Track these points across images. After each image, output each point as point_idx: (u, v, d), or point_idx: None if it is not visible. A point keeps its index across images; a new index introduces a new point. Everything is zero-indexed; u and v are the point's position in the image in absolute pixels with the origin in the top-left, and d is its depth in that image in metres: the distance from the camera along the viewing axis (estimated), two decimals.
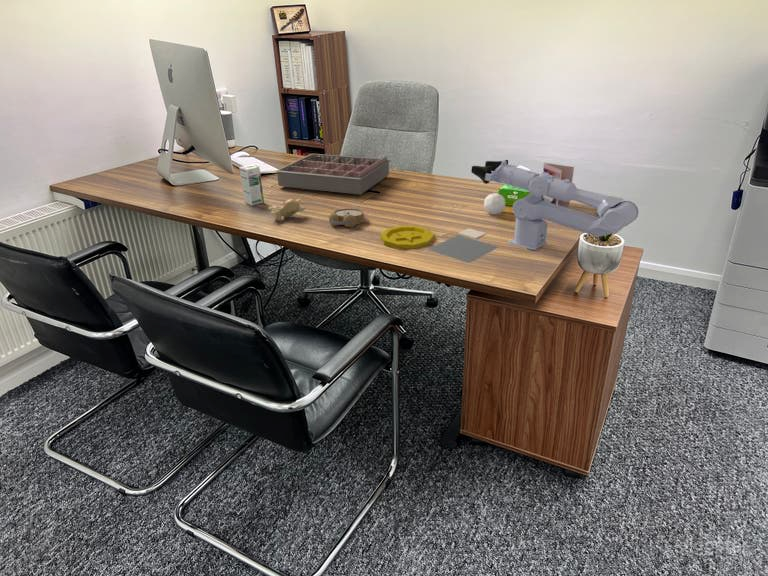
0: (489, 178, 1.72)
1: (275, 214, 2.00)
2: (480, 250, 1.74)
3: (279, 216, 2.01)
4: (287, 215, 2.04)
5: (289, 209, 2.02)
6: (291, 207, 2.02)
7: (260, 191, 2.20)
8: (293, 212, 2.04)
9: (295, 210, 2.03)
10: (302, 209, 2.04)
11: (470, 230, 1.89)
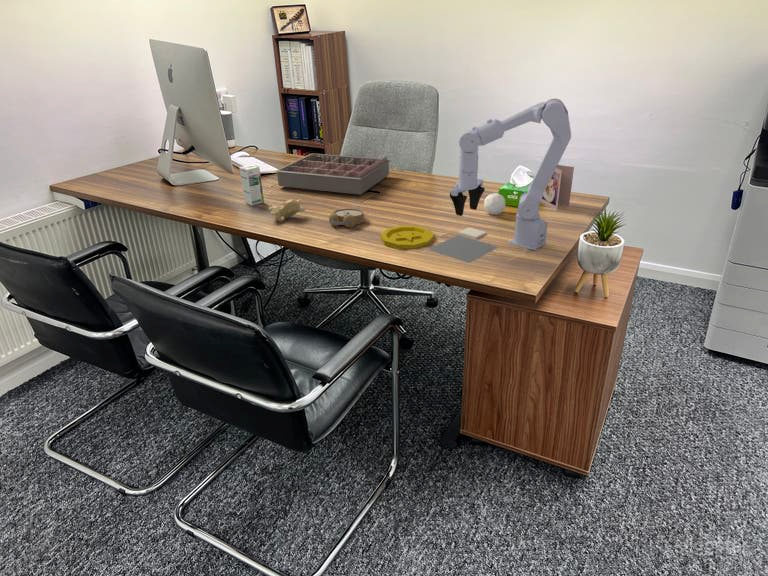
0: (454, 190, 1.72)
1: (275, 214, 2.00)
2: (480, 250, 1.74)
3: (279, 216, 2.01)
4: (287, 215, 2.04)
5: (289, 209, 2.01)
6: (291, 208, 2.01)
7: (260, 191, 2.20)
8: (293, 212, 2.03)
9: (295, 211, 2.03)
10: (302, 210, 2.04)
11: (470, 229, 1.89)
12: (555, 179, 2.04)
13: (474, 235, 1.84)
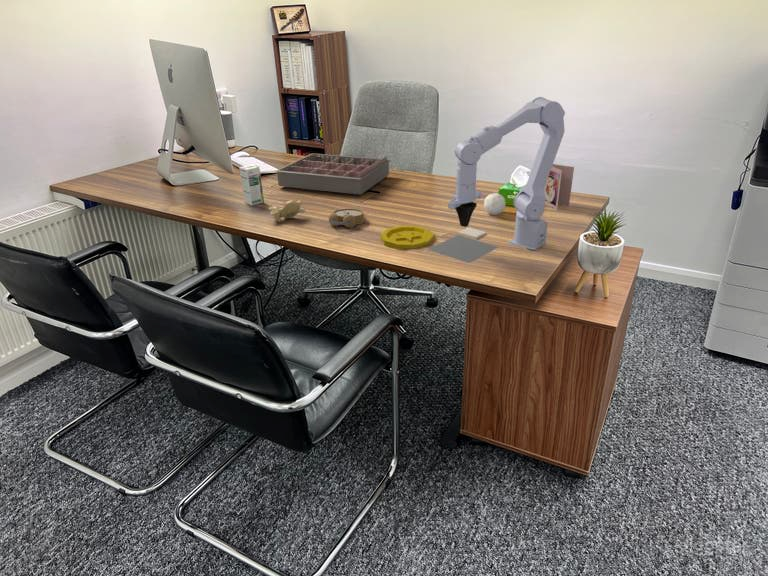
0: (451, 204, 1.64)
1: (274, 215, 2.00)
2: (480, 250, 1.74)
3: (278, 217, 2.00)
4: (287, 216, 2.03)
5: (288, 210, 2.01)
6: (291, 209, 2.00)
7: (260, 191, 2.20)
8: (293, 213, 2.03)
9: (295, 211, 2.02)
10: (302, 211, 2.02)
11: (470, 229, 1.88)
12: (555, 179, 2.04)
13: (474, 235, 1.83)
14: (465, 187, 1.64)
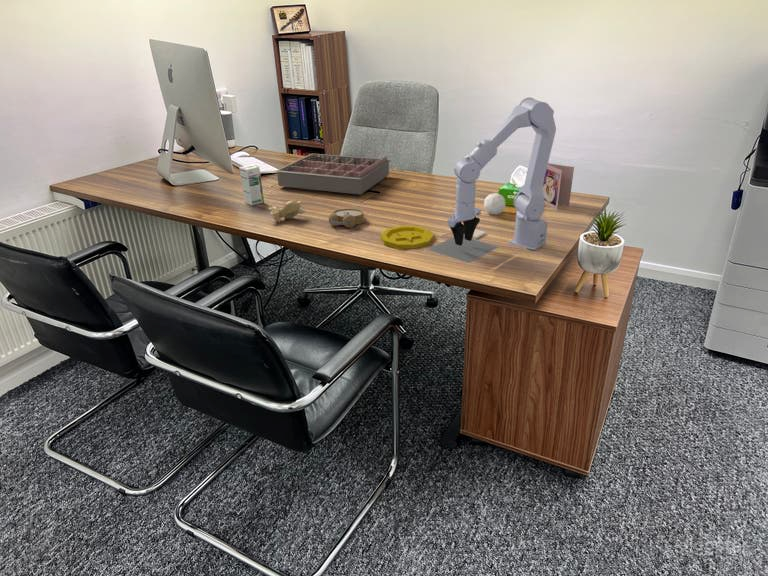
0: (450, 221, 1.66)
1: (274, 215, 1.99)
2: (480, 250, 1.74)
3: (278, 217, 2.00)
4: (287, 216, 2.03)
5: (288, 211, 2.00)
6: (291, 209, 2.00)
7: (260, 191, 2.20)
8: (293, 214, 2.02)
9: (294, 212, 2.01)
10: (302, 211, 2.02)
11: None
12: (555, 179, 2.04)
13: (474, 235, 1.83)
14: (464, 205, 1.67)
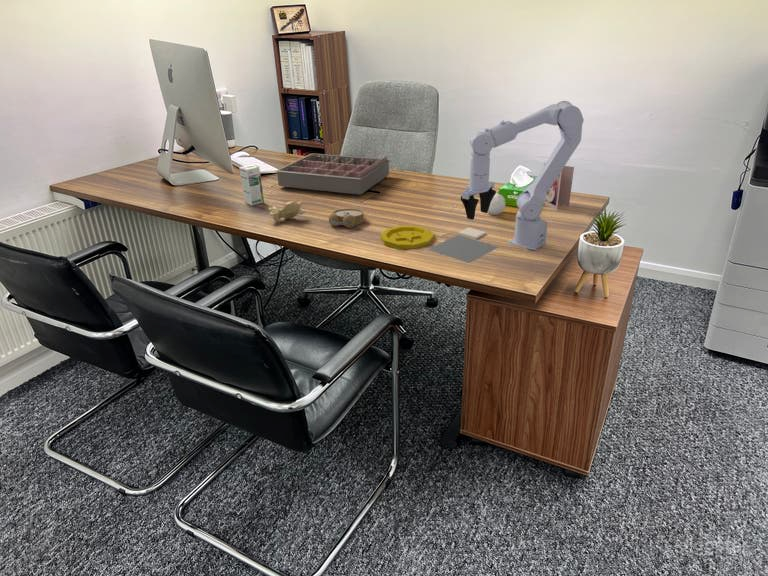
0: (465, 193, 1.68)
1: (273, 215, 1.99)
2: (480, 250, 1.74)
3: (277, 217, 1.99)
4: (287, 217, 2.02)
5: (288, 211, 2.00)
6: (290, 210, 2.00)
7: (260, 191, 2.20)
8: (292, 214, 2.02)
9: (294, 212, 2.01)
10: (302, 212, 2.01)
11: (470, 229, 1.88)
12: None
13: (474, 235, 1.83)
14: (479, 177, 1.68)
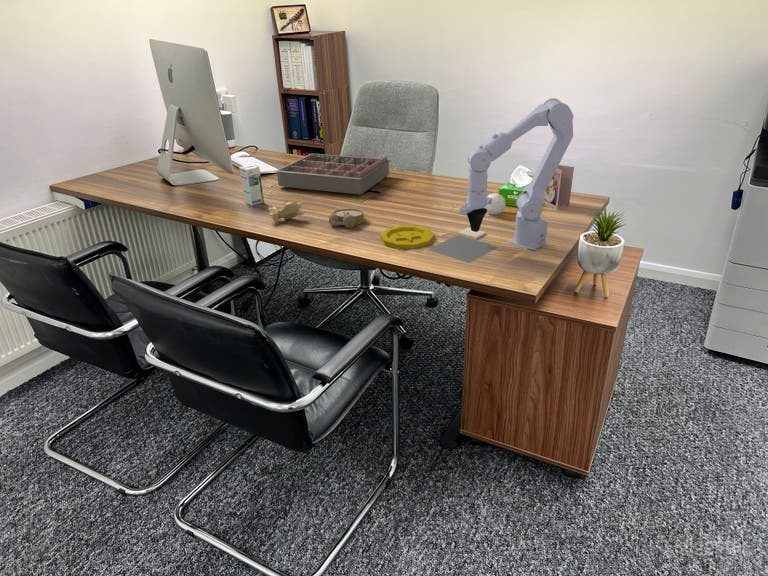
0: (462, 210, 1.69)
1: (273, 216, 1.99)
2: (480, 250, 1.74)
3: (276, 218, 1.99)
4: (286, 217, 2.02)
5: (287, 212, 1.99)
6: (290, 210, 1.99)
7: (260, 191, 2.20)
8: (292, 215, 2.01)
9: (294, 213, 2.00)
10: (301, 213, 2.01)
11: (470, 229, 1.88)
12: (555, 179, 2.04)
13: (474, 235, 1.83)
14: (476, 194, 1.70)
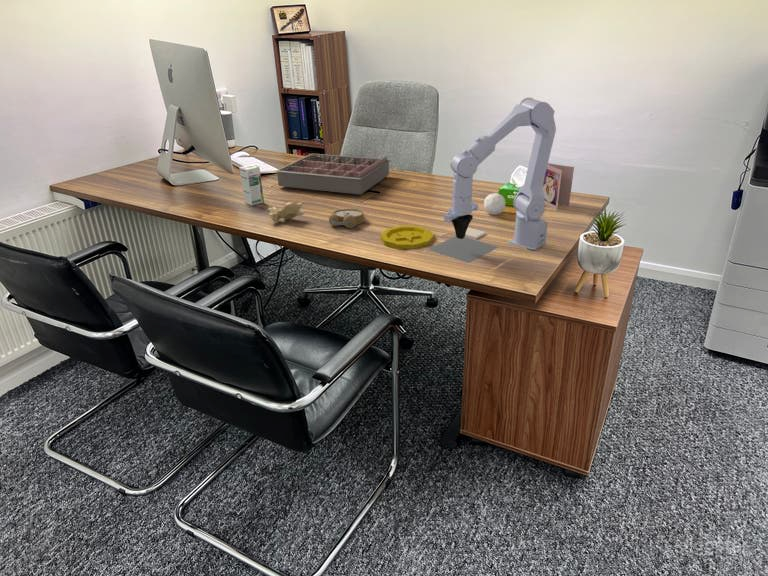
0: (447, 216, 1.64)
1: (272, 216, 1.99)
2: (480, 250, 1.74)
3: (276, 218, 1.99)
4: (286, 218, 2.02)
5: (287, 212, 1.99)
6: (289, 210, 1.99)
7: (260, 191, 2.20)
8: (292, 215, 2.01)
9: (293, 214, 2.00)
10: (301, 213, 2.00)
11: (469, 229, 1.88)
12: (555, 179, 2.04)
13: (474, 235, 1.83)
14: (461, 200, 1.65)
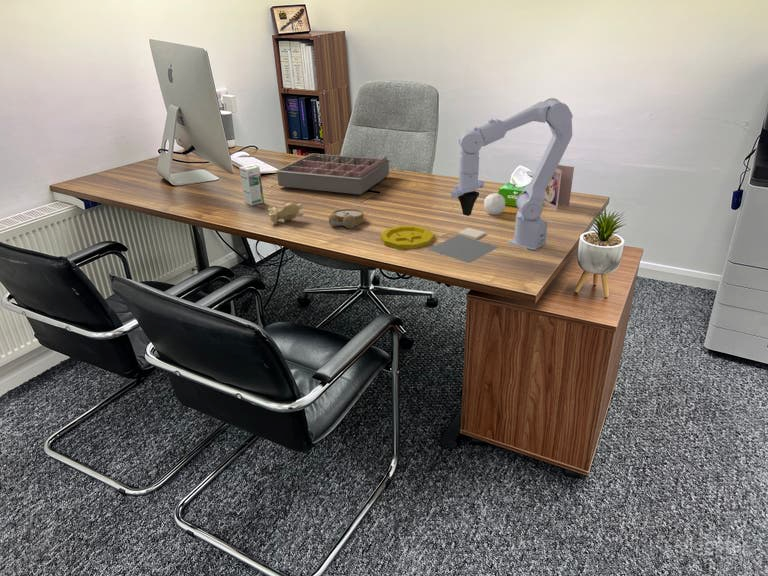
0: (454, 192, 1.67)
1: (271, 216, 1.98)
2: (480, 250, 1.74)
3: (275, 219, 1.98)
4: (285, 218, 2.01)
5: (286, 213, 1.98)
6: (288, 211, 1.98)
7: (260, 191, 2.20)
8: (291, 216, 2.00)
9: (292, 214, 1.99)
10: (300, 214, 1.99)
11: (469, 229, 1.88)
12: (555, 179, 2.04)
13: (474, 236, 1.83)
14: (468, 176, 1.67)
